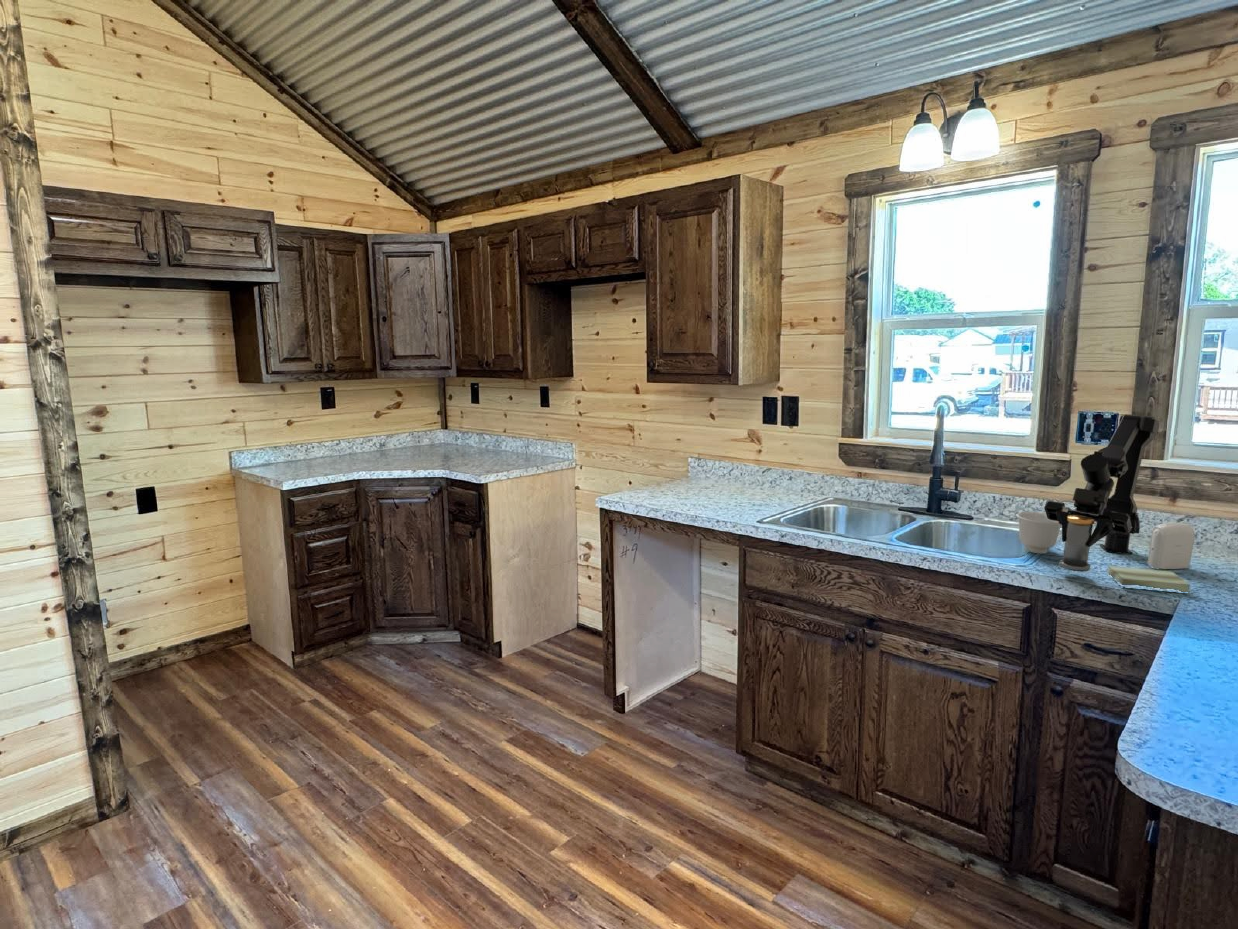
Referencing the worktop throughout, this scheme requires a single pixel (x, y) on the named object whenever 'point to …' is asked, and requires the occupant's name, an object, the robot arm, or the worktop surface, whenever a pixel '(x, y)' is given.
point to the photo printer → (1171, 546)
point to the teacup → (1037, 531)
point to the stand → (1148, 578)
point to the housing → (1077, 543)
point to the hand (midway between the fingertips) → (1075, 543)
